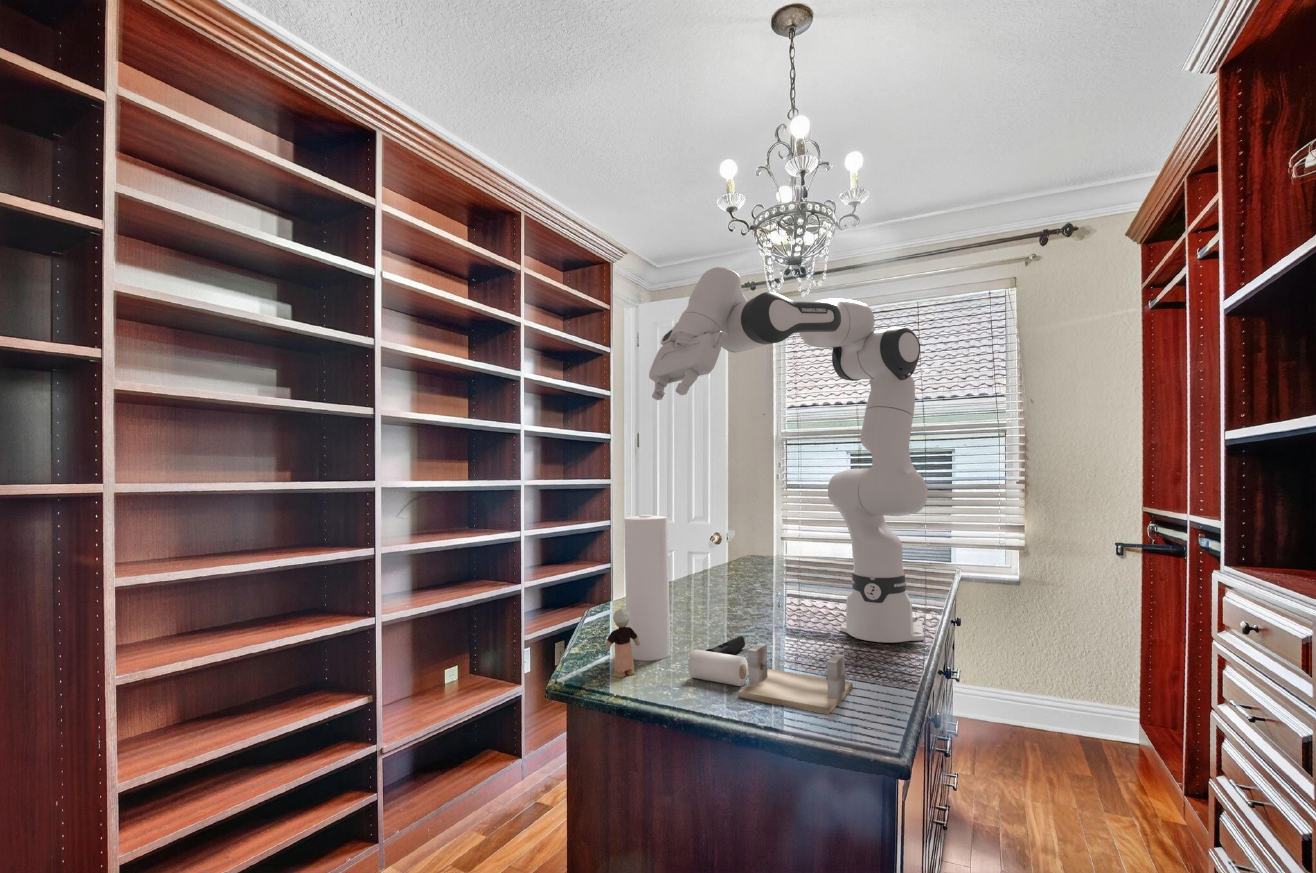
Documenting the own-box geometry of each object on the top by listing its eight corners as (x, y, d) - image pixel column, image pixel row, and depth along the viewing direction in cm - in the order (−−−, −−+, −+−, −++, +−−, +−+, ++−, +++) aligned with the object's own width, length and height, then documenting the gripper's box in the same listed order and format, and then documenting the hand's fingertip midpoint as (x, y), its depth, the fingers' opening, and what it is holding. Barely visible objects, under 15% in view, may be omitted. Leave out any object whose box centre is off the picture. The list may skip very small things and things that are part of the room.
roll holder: (769, 673, 123) (768, 637, 123) (852, 687, 114) (851, 648, 115) (738, 696, 111) (737, 656, 111) (828, 714, 102) (827, 670, 103)
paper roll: (687, 680, 120) (686, 653, 121) (700, 672, 125) (699, 646, 125) (738, 690, 115) (737, 661, 115) (749, 681, 119) (749, 653, 119)
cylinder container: (619, 658, 135) (617, 516, 137) (637, 646, 144) (635, 513, 145) (660, 662, 132) (657, 517, 133) (676, 649, 140) (673, 513, 142)
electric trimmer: (750, 650, 140) (749, 636, 140) (712, 668, 128) (712, 652, 128) (735, 648, 142) (734, 634, 142) (697, 665, 130) (696, 649, 130)
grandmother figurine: (630, 667, 128) (629, 604, 129) (643, 671, 126) (641, 607, 126) (600, 677, 123) (599, 611, 124) (613, 681, 120) (612, 614, 121)
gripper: (737, 336, 120) (709, 398, 116) (681, 354, 138) (655, 408, 134) (712, 317, 117) (683, 380, 114) (658, 338, 135) (632, 393, 131)
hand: (667, 396), depth 124 cm, fingers open, 8 cm apart
